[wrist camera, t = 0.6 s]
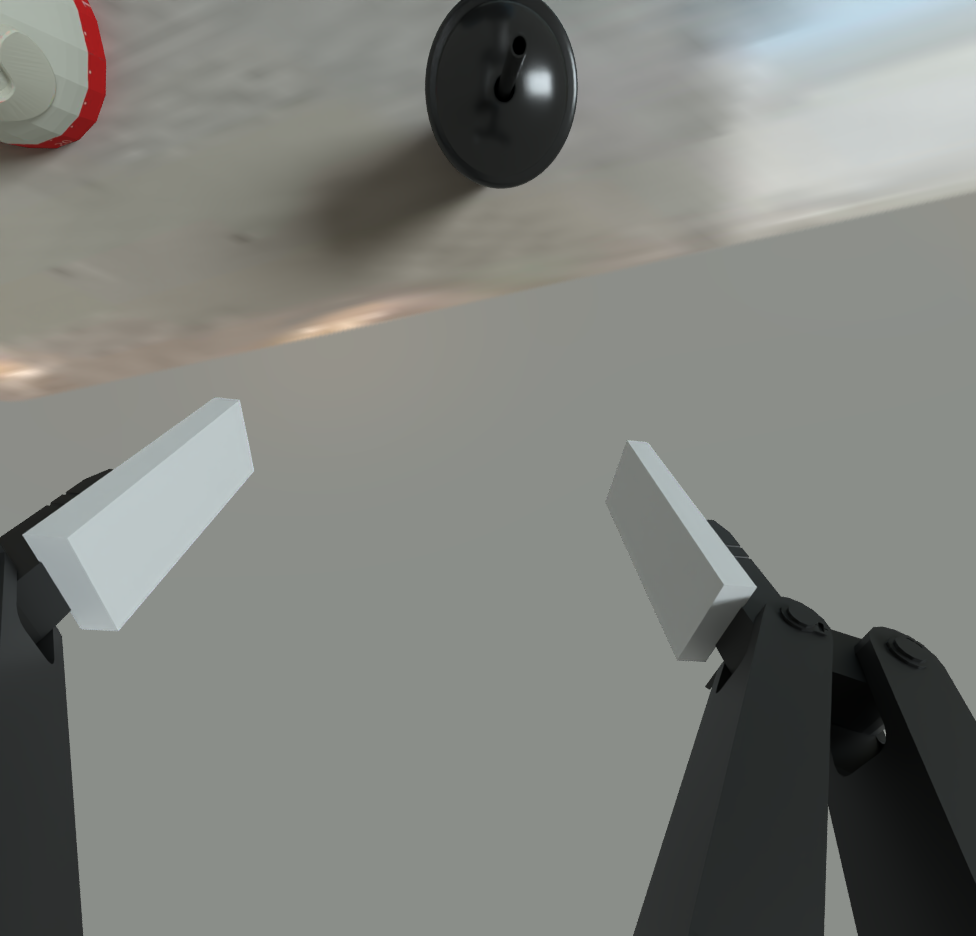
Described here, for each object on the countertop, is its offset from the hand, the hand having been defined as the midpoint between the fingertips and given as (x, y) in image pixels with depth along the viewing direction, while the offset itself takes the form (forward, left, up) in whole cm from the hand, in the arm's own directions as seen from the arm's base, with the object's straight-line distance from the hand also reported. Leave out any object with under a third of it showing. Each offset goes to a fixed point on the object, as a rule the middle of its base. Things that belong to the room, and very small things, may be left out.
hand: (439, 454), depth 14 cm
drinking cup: (-13, +4, -28) cm, 31 cm away
